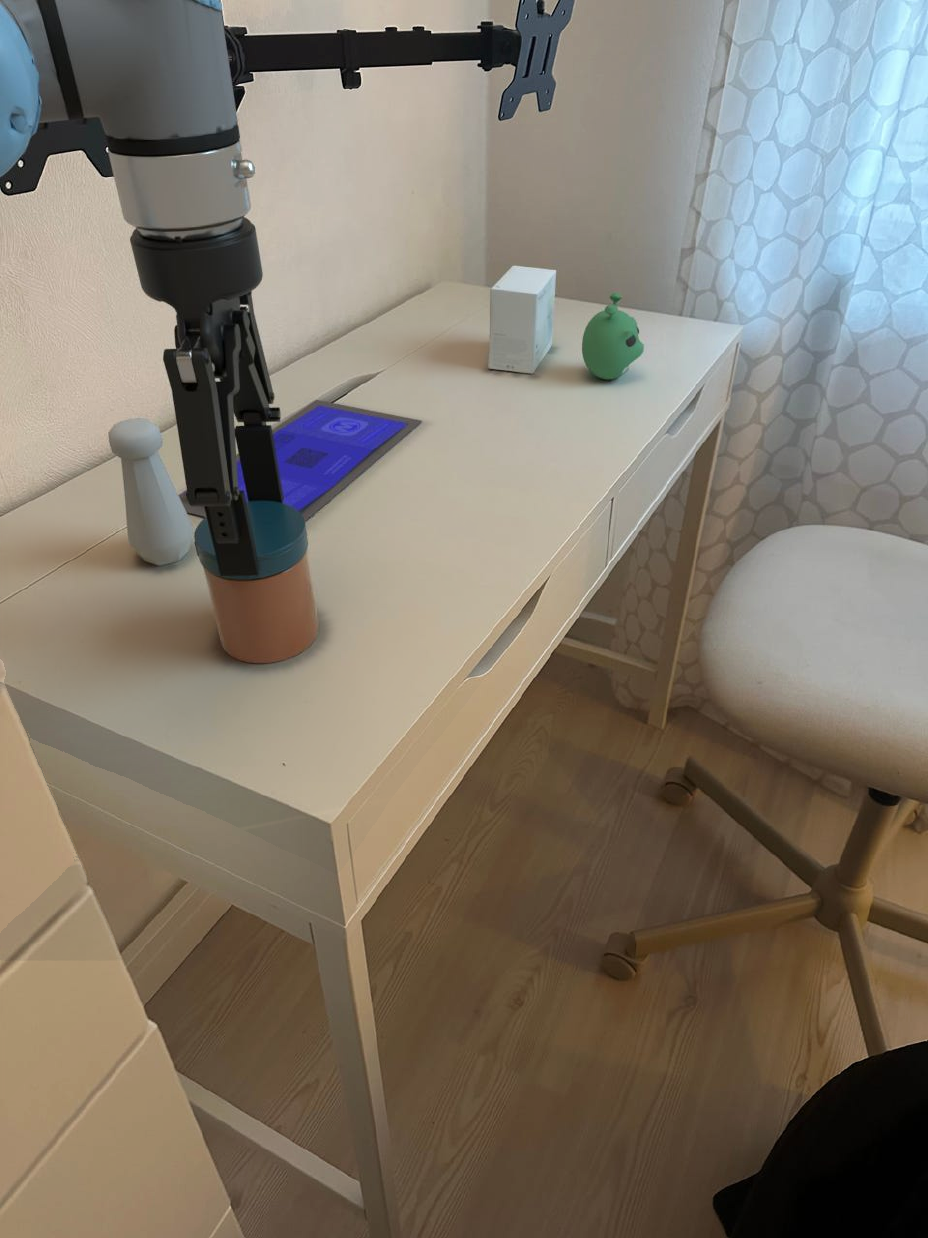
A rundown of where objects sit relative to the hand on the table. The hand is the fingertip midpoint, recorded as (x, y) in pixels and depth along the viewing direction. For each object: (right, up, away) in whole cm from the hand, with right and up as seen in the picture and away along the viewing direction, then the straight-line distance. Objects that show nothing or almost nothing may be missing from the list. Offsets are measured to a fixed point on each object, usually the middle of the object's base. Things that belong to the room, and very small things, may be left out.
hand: (254, 535), depth 68 cm
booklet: (-2, +11, +29) cm, 31 cm away
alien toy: (+35, +24, +46) cm, 63 cm away
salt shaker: (-12, 0, +16) cm, 20 cm away
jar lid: (0, 0, 0) cm, 0 cm away
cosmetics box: (+24, +29, +52) cm, 64 cm away
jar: (0, -7, +6) cm, 9 cm away
